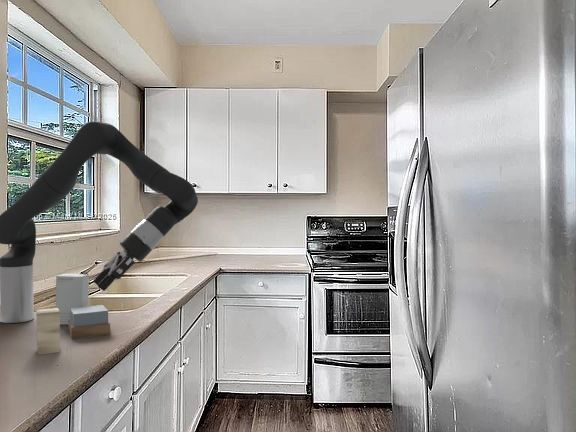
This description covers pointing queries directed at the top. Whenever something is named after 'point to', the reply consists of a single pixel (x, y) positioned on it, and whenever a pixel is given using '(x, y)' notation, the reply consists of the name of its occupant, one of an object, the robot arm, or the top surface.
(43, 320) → the birch pillar block
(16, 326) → the top surface
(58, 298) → the skincare box
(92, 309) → the slate top block
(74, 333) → the walnut base block
